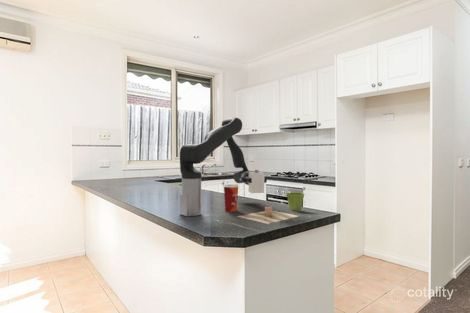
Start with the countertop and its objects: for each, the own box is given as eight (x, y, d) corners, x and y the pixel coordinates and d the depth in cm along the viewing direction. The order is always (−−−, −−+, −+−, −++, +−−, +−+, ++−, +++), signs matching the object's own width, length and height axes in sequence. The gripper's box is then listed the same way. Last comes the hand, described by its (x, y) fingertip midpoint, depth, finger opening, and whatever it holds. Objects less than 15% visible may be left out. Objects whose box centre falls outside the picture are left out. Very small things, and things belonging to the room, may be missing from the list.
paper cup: (237, 213, 137) (237, 184, 137) (221, 213, 138) (221, 184, 138) (240, 210, 144) (240, 183, 144) (225, 210, 146) (225, 182, 146)
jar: (268, 217, 126) (268, 208, 126) (263, 216, 129) (263, 207, 129) (273, 216, 128) (273, 207, 128) (268, 215, 131) (268, 206, 131)
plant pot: (297, 213, 139) (297, 195, 139) (282, 210, 146) (282, 193, 146) (308, 210, 145) (308, 193, 145) (293, 208, 152) (293, 191, 152)
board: (267, 225, 114) (267, 223, 114) (237, 218, 128) (237, 216, 128) (299, 217, 129) (299, 215, 129) (269, 211, 143) (269, 210, 143)
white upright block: (251, 193, 141) (252, 170, 141) (248, 191, 147) (248, 169, 147) (264, 192, 142) (264, 170, 142) (260, 191, 148) (260, 169, 148)
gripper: (236, 171, 157) (244, 173, 141) (261, 171, 160) (271, 173, 144) (236, 185, 157) (243, 188, 141) (261, 184, 160) (271, 188, 144)
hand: (257, 180), depth 142 cm, fingers closed on white upright block, 6 cm apart
